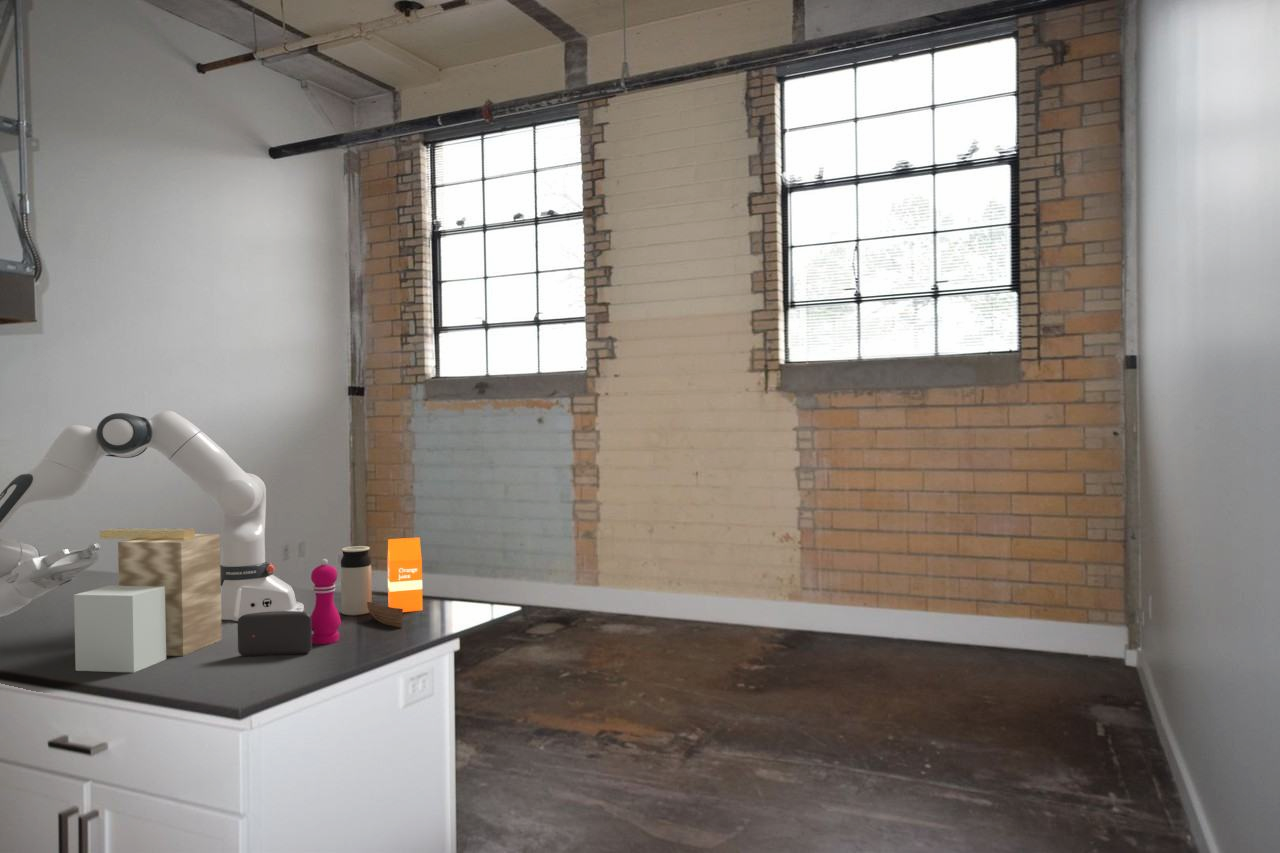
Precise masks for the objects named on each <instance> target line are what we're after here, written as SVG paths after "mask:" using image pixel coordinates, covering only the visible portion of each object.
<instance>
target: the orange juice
mask: <svg viewBox="0 0 1280 853" xmlns="http://www.w3.org/2000/svg"><path fill="white" fill-rule="evenodd" d="M422 559H423V558H422V549H421V537H408V538H407V537H405V538H403V537H402V538H389V539H388V540H387V600H388V603H387V605H388V606H387V607H392V608H400V609H403V611H402V613H407V612H408V613H409V612H418V611H423V560H422Z"/></svg>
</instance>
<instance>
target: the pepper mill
mask: <svg viewBox="0 0 1280 853" xmlns="http://www.w3.org/2000/svg"><path fill="white" fill-rule="evenodd" d="M328 563H329V561H328V559H327V558H322V559H321V560H320V562H319V564H320V565H318V566H317V567H315V568H314V569H312V571H311V574H310V580H311V582H312V583H313V585H314V586H313V592H314V594H315V605H314V609H313V611H312V613H311V614H310V616H311V623H312V645H329V644H334V643H336V642H338V641H339V640H340V633H339V631H338V629H339V628H340V627H341V623H342V620H341V616H340V613H339V612H338V609H337V607H336V605H335V600H334V592H335V591H336V584H335V583H336V581H337V579H338V571H337V569H336V568H335V567H334V566H332V565H329V564H328Z"/></svg>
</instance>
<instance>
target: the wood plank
mask: <svg viewBox="0 0 1280 853" xmlns="http://www.w3.org/2000/svg"><path fill="white" fill-rule="evenodd" d="M367 606H368V610H369V614H370V615H372V616H373V619H375V620H376V621H378V623H381V624H383V625H388V626H391V627H395V628H400V629H403V622H402V620H403V612H402V611H403V609H400V608H392V607H388V606H386V605H380V604H377V603H375V602H367Z"/></svg>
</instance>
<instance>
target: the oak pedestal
mask: <svg viewBox="0 0 1280 853" xmlns="http://www.w3.org/2000/svg"><path fill="white" fill-rule="evenodd" d="M117 552H118V553H117V555H118V556H117V558H118V586H163V587H165V617H166V656H174V657H177V656H178V657H179V656H180V657H184V656H186V655H189V654H192V653H193V652H196V651H199V650H201V649H204V648H206V647H208V646H210V645H213V644H215V642H216V643H217V642H220V641H222V640H223V639H222V638H223V637H222V636H223V634H222V633H223V632H222V619H221V578H220V565H221V533H220V534H219V533H213V534H212V533H195V537H193V538H188V539H125V540H123V541H118V542H117Z"/></svg>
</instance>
